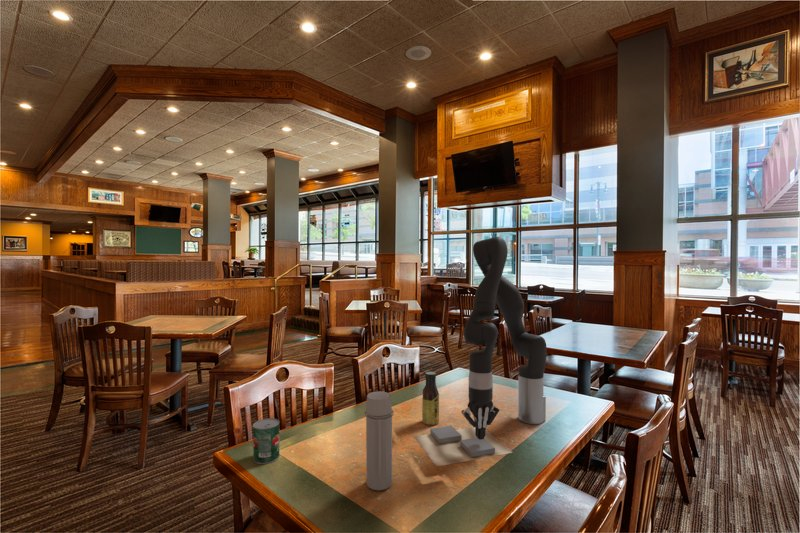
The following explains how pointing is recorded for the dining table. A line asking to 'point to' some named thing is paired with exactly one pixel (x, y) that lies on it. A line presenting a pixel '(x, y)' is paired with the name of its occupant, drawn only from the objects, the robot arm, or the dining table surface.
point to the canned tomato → (266, 441)
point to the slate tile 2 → (477, 447)
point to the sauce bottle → (430, 401)
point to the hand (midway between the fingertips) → (480, 438)
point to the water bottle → (379, 440)
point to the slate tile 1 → (445, 434)
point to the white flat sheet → (457, 448)
